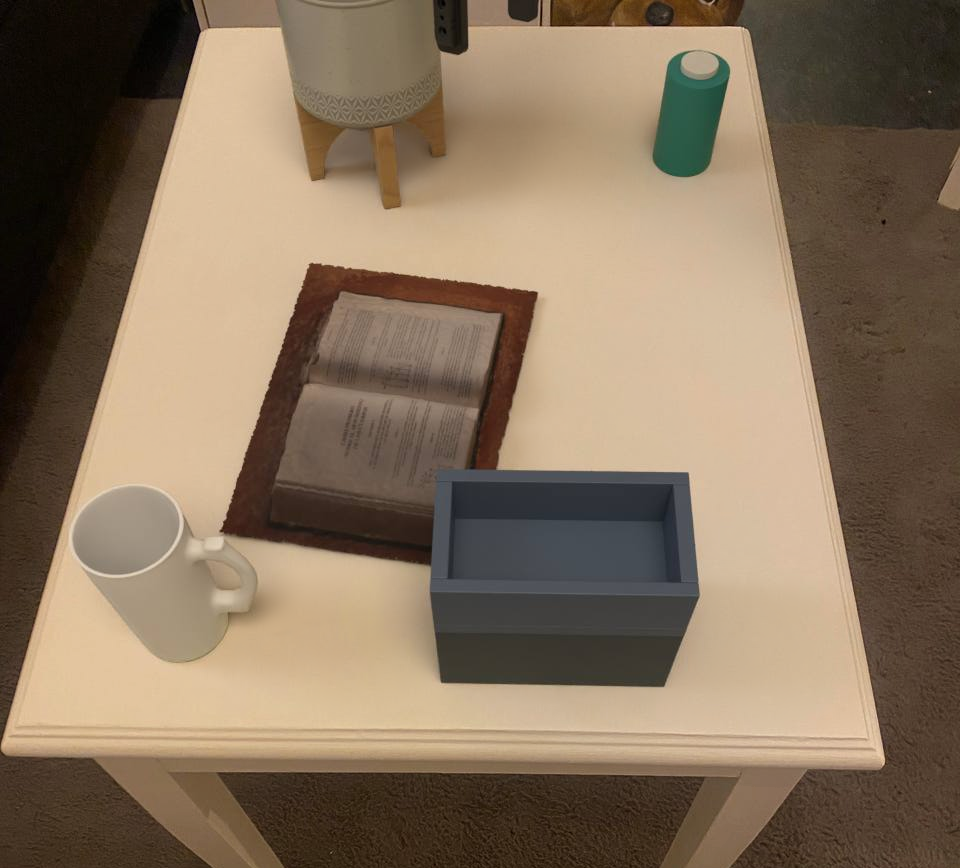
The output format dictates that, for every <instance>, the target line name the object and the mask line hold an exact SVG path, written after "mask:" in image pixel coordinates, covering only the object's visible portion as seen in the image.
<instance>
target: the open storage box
mask: <svg viewBox="0 0 960 868" xmlns="http://www.w3.org/2000/svg"><path fill="white" fill-rule="evenodd" d="M690 484H691V483H690V473H689V471H626V470H625V471H623V470H620V471H619V470H618V471H617V470H615V471H614V470H543V469H541V470H540V469H539V470H538V469H496V470H471V469H437V473H436V491H435V508H434V525H433V542H432V559H431V565H430V580H429V598H430V606H431V613H432V614H431V615H432V622H433V630H434V637H435V638H434V639H435V645H436V651H437V652H436V653H437V662H438V669H439V678H440V683H442V684H483V685H484V684H485V685H487V684H489V685H535V686H536V685H537V686H538V685H539V686H540V685H542V686H589V687H591V686H592V687H595V686H597V687H599V686H600V687H646V688H647V687H648V688H649V687H650V688H664V687H665V686H666V683H667V681H668V678H669V675H670V673H671V670H672V668H673V665H674V662H675V660H676V658H677V655H678V653H679V650H680V647H681V644H682V642H683V640H684V637H685V635H686V632H687V630H688V627H689V624H690V622H691V619H692V617H693V614H694V611H695V609H696V607H697V604H698V601H699V599H700V597H701V593H700V583H699V572H698V561H697V551H696V538H695V528H694V515H693V506H692V495H691V485H690Z"/></svg>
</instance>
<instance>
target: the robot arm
mask: <svg viewBox="0 0 960 868" xmlns="http://www.w3.org/2000/svg"><path fill="white" fill-rule="evenodd" d="M539 2H540V0H507V14H508V16H509V18H510V19H511V20H514V21H519V22H524V23H530V22H533V21H534V20H536V19H537V18H538V15H539ZM468 3H469V1H468V0H433V11H434V26H435V27H434V33H435V39H436V42H437V46H438V48H439V50H440V52H442V53H446V54H450V55H455V56H460V55H463V54H465V53H466V52H467V51H469V46H470V45H469V44H470V43H469V13H468V11H469V9H468V7H469V6H468V5H469V4H468Z"/></svg>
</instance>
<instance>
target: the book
mask: <svg viewBox="0 0 960 868" xmlns="http://www.w3.org/2000/svg"><path fill="white" fill-rule="evenodd" d="M304 276H305V277H304V280H302V285H301V290H300V291H299V293H298V295H297V297H296V301H295V302H296V303H295V304H294V307H293V309H294V311H293V314H292V316H290V319H289V322H288V327H287V328H286V332H285V334H284V338H283V340H282V341H283V343H282V344H281V349H280V351H279V354H278V355H277V360H276V362H275V367H274V368H273V371H272V373H271V376H270V380H269V382H268V384H267V386H268V388H267V391H265V394H264V398H263V400H262V405H261V406H260V410H259V412H258V415H259V416H258V418H257V419H256V423H255V424H256V425H254V426H255V428H254V429H253V431H252V435H251V436H250V440H249V442H248V445H247V449H246V451H245V453H244V457H243V462H242V465H241V470H240V471H239V473H238V476H237V478H236V481H235V487H234V489H233V494H231V498H230V501H231V502H230V503H229V505H228V510H227V512H226V513H225V515H226V517H225V519H224V520H222V526H221V528H220V529H219V530H218V532H219V533H223V534H225V535H227V534H228V535H230V536H232V535H233V534H234V535H236V536H237V537H239V536H243V537H248V536H250V537H252V538H254V539H257V538H258V539H266V540H267V541H271V540H272V541H274V542H279V543H281V542H282V541H284V543H287V542H289V543H292V544H297V545H299V546H305V547H309V546H311V547H314V548H319V549H320V548H323V550H325V549H326V550H330V551H337V552H344V553H347V554H349V553H354V554H357V555H366V556H371V557H376V558H380V559H381V558H382V559H383V558H385V559H390V560H393V561H394V560H398V561H399V560H400V561H404V562H410V563H411V562H412V563H413V564H415V563H417V564H420V565H422V564H427V565H430V566H431V559H432V542H433V525H434V508H435V491H436V473H437V469H471V470H497V467H498V463H499V457H500V454H499V452H500V451H499V449H500V448H502V444H503V443H502V442H503V439H504V437H505V435H506V429H507V425H508V424H509V423H508V422H509V421H510V413H509V411H510V410H511V409H512V406H513V397H514V394H515V393H516V389H517V385H518V379H519V376H520V372H521V369H522V365H523V359H524V355H523V353H525V351H526V348H527V342H528V338H529V334H530V331H531V330H530V329H531V327H532V320H533V319H534V309H535V306H536V301H537V300H538V299H537V298H538V295H539V292H538V291H535V290H528V289H519V288H517V287H516V288H508V287H504V286H501V285H497V286H495V285H491V284H486V283H485V284H482V283H477V282H471V281H469V282H468V281H461V280H460V281H459V280H456V279H454V280H450V279H448V278H447V279H445V278H443V279H441V278H437V277H429V278H428V277H425V276H418V275H411V274H403V273H396V272H393V271H391V272H390V271H377V270H375V271H374V270H369V269H366V268H352V267H347V268H345V267H344V266H341V265H337V266H335V264H334V265H333V264H324V265H323V264H322V263H321V262H320V263H319V262H318V263H317V262H316V263H314V262H310V263H309V264H308V267H307V268H306V273H305V275H304Z"/></svg>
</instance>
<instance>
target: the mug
mask: <svg viewBox="0 0 960 868" xmlns="http://www.w3.org/2000/svg"><path fill="white" fill-rule="evenodd" d="M67 536H68V537H67V539H68V540H67V541H68V546H69V551H70V553H71V555H72V557H73V559H74V560H75V562H76V563H77V564H78V565H79V567H80V568H81V570H82V571H83V572H84V573H85V575H86V576H87V577H88V578H89V580H90V581H91V582H92V583H93V585H94V586H95V587H96V588H97V590H98V591H99V592H100V594H102V596H103V597H104V599H106V601H107V602H108V603H109V604H110V606H111V607H112V609H113V610H114V611H115V612H116V613H117V614H118V616H119V618H121V620H123V622H124V623H125V625H126V626H127V627H128V628H129V629H130V631H131V632H132V633H133V635H135V637H136V638H137V639H138V640H139V641H140V643H141V644H142V645H143V646H144V647H145V649H146V650H147V652H149V653H150V654H151V655H153V656H154V657H156V658H158V659H159V660H163V661H166V662H170V663H185V662H191V661H194V660H197V659H199V658H201V657H203V656H205V655H207V654H209V653H210V652H211V651H212V650H213V649H215V648H216V647H217V646H218V645H219V644H220V642H221V641H222V639H223V638H224V636H225V634H226V631H227V629H228V626H229V625H228V624H229V613H241V614H242V613H247V612H248V611H249V610H250V609H251V606H252V604H253V601H254V598H255V595H256V593H257V589H258V584H259V579H258V574H257V571H256V569H255V567H254V566H253V564H252V563H251V561H249V559H247V558H246V556H244V554H242V553H241V552H240V551H239V550H238V549H236V548H235V547H234V546H233V545H231V544H230V543H229V542H228V541H227V540H226V538H225V536H223V535H218V536H217V535H215V536H207V537H205V539H199V538H196V537H195V535H194V533H193V530H192V528H191V526H190V524H189V522H188V520H187V518H186V516H185V514H184V513H183V510H182V508H181V506H180V504H179V502H178V501H177V500H176V498H175V497H173V495H172V494H171V493H169V492H167V491H166V490H165V489H163V488H160V487H158V486H156V485H153V484H149V483H138V482H137V483H133V482H132V483H125V484H119V485H116V486H112V487H110V488H107V489H105V490H102V491H101V492H99V493H97V494H96V495H94V496H93V497H91V498H90V499H89V500H87V502H85V503H84V504H83V505H81V507H80V508H79V510H78V511H77V513H76V514H75V515H74V516H73V519H72V520H71V523H70V526H69V529H68V535H67ZM207 561H214V562H218V563H221V564H223V565H226V566H227V567H229V568H231V569H232V570H233V571H234V572H235V573H236V574H237V575H238V576H239V579H240V583H241V585H240V586H239V587H237V588H236V589H220V588H219V586H218V584H217V581H216V579H215V578H214V575H213V574H212V571H211V569H210V567H209V564H208V563H207Z"/></svg>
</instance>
